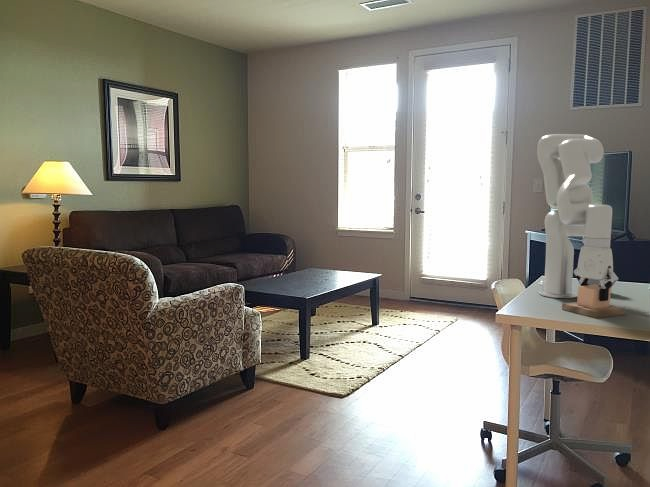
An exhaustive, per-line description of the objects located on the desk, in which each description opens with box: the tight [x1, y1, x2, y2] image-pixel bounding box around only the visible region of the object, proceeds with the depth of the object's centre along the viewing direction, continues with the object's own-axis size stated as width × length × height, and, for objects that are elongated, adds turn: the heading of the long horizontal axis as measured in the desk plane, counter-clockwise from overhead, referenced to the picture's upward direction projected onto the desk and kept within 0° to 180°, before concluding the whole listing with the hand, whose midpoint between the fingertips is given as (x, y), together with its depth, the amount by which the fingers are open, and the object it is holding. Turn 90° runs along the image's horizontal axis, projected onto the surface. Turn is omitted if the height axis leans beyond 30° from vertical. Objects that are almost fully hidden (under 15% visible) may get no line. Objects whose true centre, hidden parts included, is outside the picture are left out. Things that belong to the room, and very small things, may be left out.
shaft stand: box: [561, 301, 626, 319], centre depth 179 cm, size 13×13×7 cm
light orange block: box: [576, 285, 612, 309], centre depth 179 cm, size 6×8×7 cm
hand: (593, 298), depth 179 cm, fingers open, 6 cm apart
